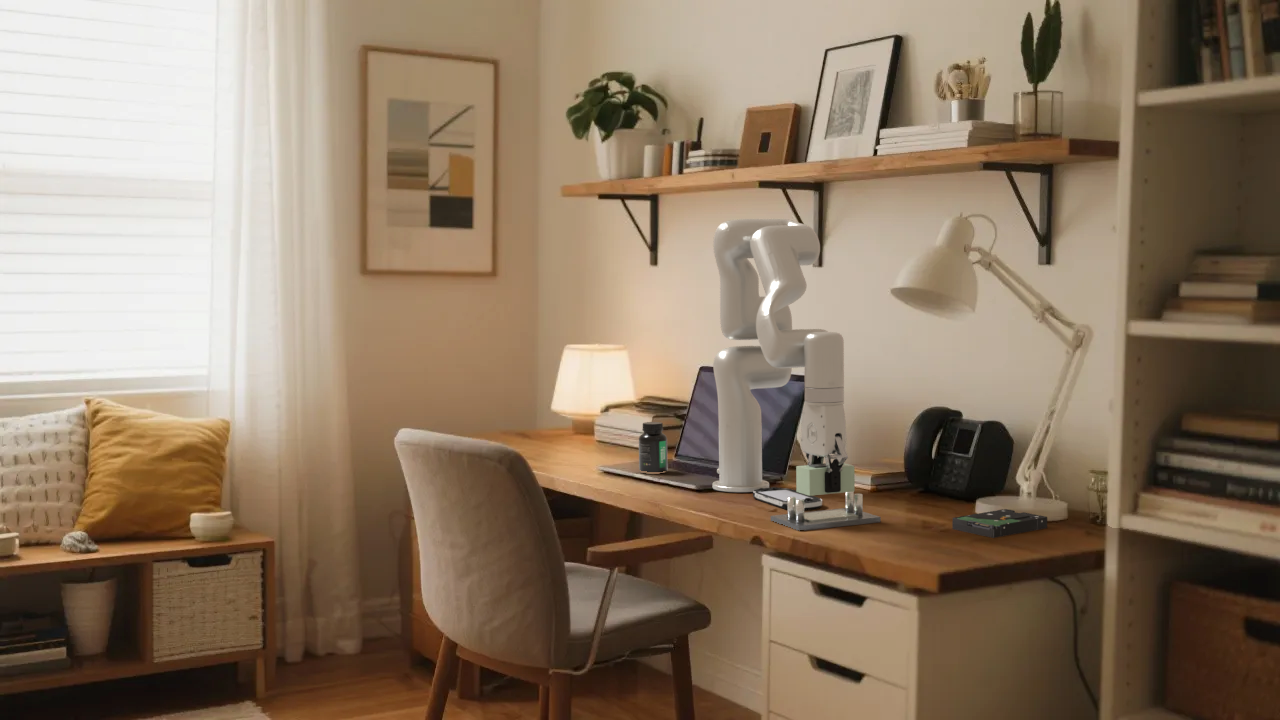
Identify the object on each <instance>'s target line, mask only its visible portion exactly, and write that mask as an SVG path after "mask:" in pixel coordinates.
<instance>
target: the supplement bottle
mask: <svg viewBox="0 0 1280 720" xmlns="http://www.w3.org/2000/svg"><path fill="white" fill-rule="evenodd" d="M663 426H664V424H663V422H661V421H660V422H659V421H649V422H648V421H647V422H643V423H642V434H640V435H639V437H638V469H639V470H641V471H647V472H663V471H667V472H668V470H669V469H668V437H667V435H666V434H664V433H663V431H664V427H663Z"/></svg>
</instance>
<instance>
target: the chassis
mask: <svg viewBox="0 0 1280 720" xmlns="http://www.w3.org/2000/svg"><path fill="white" fill-rule="evenodd" d="M854 492H855V491H854ZM854 492H844V493H845V495H844V496H845V504H844V505H845V507H843V508H833V509H825V510H823V509H822V510H811V511H805V510H804V500H802V499H798V500H796V497H787V504H788V510H787V513H786V514H775V515H770V522H772V521H774V522H773V523H775V522H777V523H776V524H778V523H779V525H781V524H783V525H782V526H784V525H785V526H784V527H786V526H788V527H787V528H789V527H791V528H790V529H792V528H793V529H792V530H795V529H796V530H795V531H798V530H799V531H798V532H801V531H800V530H804V531H811V530H812V531H813V530H821V529H829V528H838V527H839V528H840V527H848V526H855V525H856V526H858V525H866V524H876V523H881V519H882V518H881V516H878V515H875V514H872V513H869V512H865V511H864V510H863V509H864V508H863V506H864V505H863V495H864V494H862V493H854Z"/></svg>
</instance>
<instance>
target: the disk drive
mask: <svg viewBox="0 0 1280 720" xmlns="http://www.w3.org/2000/svg"><path fill="white" fill-rule="evenodd" d="M951 524H952V530H955V531H959V532H964V533H970V534H974V535H979V536H983V537H987V538H992V539H995V538H1000V537H1005V536H1011V535H1016V534H1017V535H1018V534H1024V533H1027V532H1032V531H1037V530H1038V531H1039V530H1043V529H1048V516H1045V515H1041V514H1040V515H1039V514H1036V513H1035V514H1034V513H1028V512H1016V511H1015V510H1013V509H1007V508H1004V509H1002V508H1001V509H996V510H992V511H987V512H979V513H973V514H969V515H966V514H965V515H961V516H957V517H956V516H955V517H952V523H951Z"/></svg>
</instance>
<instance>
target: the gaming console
mask: <svg viewBox="0 0 1280 720" xmlns="http://www.w3.org/2000/svg"><path fill="white" fill-rule="evenodd" d="M752 497H753V498H754V499H756V500H757V501H760V502H762V503H766V504H768V505H770V506H774V507H776V508H779V509H783V510H785V511H786V510H787V511H788V504H787V497H796V500H798V499H802V500H804V511H815V510H818V509H821V507H822V506H823V499H822V498H820V497H818V496H816V495H813V496H809V495H805V494H802V493H799V492H796V489H793V488H787V487H785V488H783V487H776V486H771V487H769V488H760V489H756V490H754V491H753V492H752Z"/></svg>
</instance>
